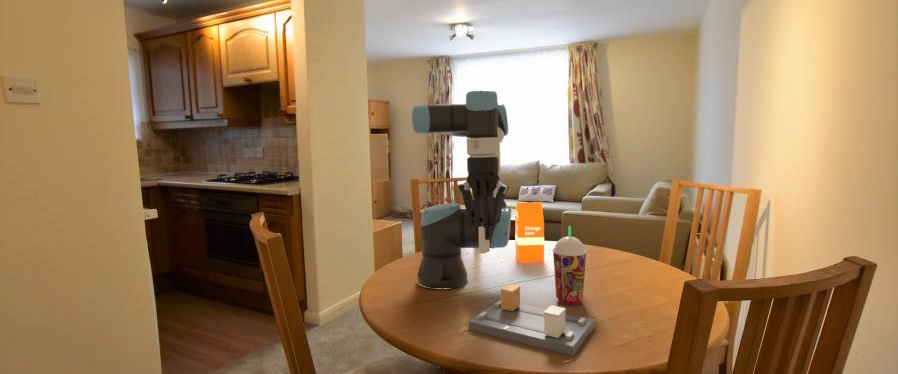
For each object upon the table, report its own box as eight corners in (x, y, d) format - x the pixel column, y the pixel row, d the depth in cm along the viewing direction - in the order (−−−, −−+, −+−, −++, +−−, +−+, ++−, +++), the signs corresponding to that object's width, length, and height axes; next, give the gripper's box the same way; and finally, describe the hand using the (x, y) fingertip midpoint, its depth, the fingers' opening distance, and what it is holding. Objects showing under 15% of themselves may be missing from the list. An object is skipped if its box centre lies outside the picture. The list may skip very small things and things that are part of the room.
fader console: (468, 329, 101) (468, 317, 101) (499, 307, 113) (498, 296, 113) (572, 356, 88) (573, 342, 87) (594, 327, 100) (594, 315, 100)
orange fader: (500, 308, 107) (500, 288, 106) (508, 303, 110) (508, 283, 110) (513, 311, 105) (512, 291, 104) (520, 305, 108) (520, 285, 108)
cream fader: (543, 334, 92) (543, 312, 92) (551, 327, 96) (551, 305, 95) (558, 338, 90) (558, 315, 90) (565, 330, 94) (565, 308, 93)
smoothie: (580, 310, 110) (581, 230, 108) (548, 304, 115) (548, 227, 112) (589, 299, 117) (590, 224, 115) (558, 293, 122) (558, 221, 119)
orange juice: (544, 261, 152) (544, 204, 150) (518, 262, 152) (517, 204, 150) (539, 255, 160) (539, 200, 158) (515, 256, 160) (514, 201, 158)
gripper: (451, 156, 108) (453, 252, 110) (499, 156, 100) (501, 259, 103) (467, 155, 114) (469, 245, 116) (514, 155, 106) (515, 251, 109)
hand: (484, 251), depth 110 cm, fingers closed
